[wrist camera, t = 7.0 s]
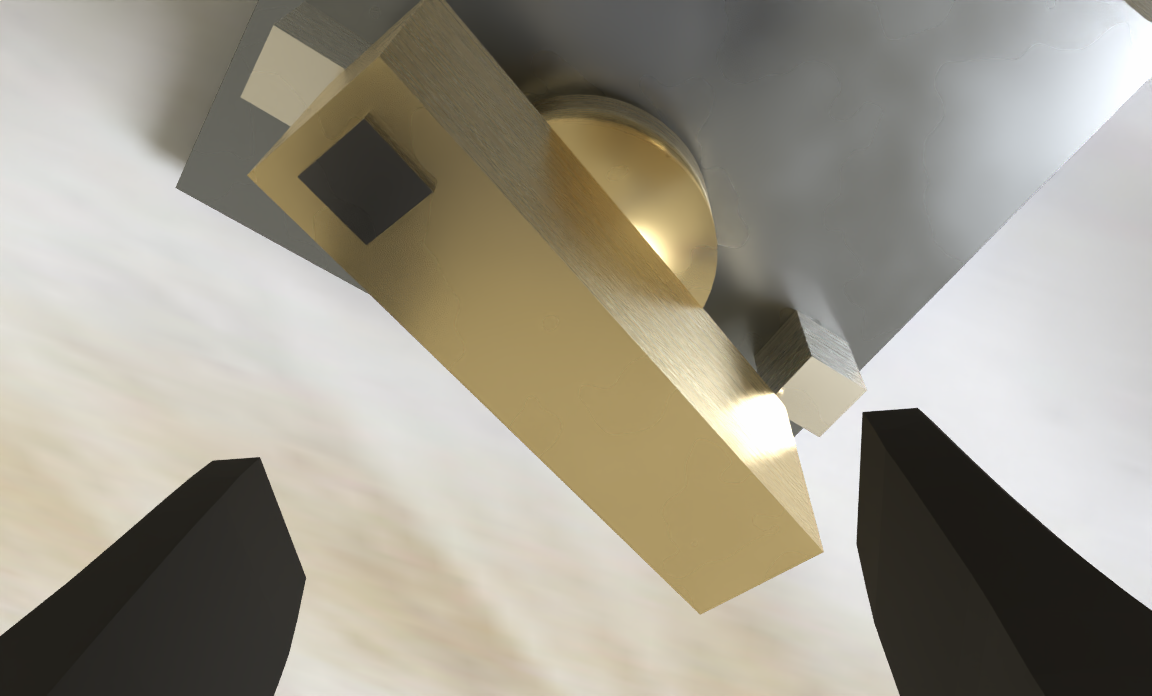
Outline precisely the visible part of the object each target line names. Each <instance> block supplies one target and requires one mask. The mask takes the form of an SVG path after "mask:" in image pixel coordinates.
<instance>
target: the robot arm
mask: <svg viewBox="0 0 1152 696" xmlns="http://www.w3.org/2000/svg"><path fill="white" fill-rule="evenodd" d="M857 548H858V553H859V558H860V562H861V567H862V571H863V576H864V580H865V585H866V589H867V594H868V598H869V602H870V606H871V611H872V615H873V619H874V623H875V626H876V629H877V632H878V635H879V638H880V641H881V643H882V646H883V649H884V652H885V655H886V658H887V660H888V663H889V666H890V669H891V672H892V674H893V677H894V680H895V683H896V686H897V689H898V691H899V694H900V696H1152V610H1150V609H1149V608H1148V607H1146V606H1145V605H1143V604H1142V603H1141V602H1139V601H1138V600H1137V599H1135V598H1134V597H1132V596H1131V595H1130V594H1128V593H1127V592H1126V591H1124V590H1123V589H1122V588H1120V587H1119V586H1118V585H1117V584H1115V583H1114V582H1113V581H1112V580H1110V579H1109V578H1108V577H1106V576H1105V575H1104V574H1103V573H1101V572H1100V571H1099V570H1097V569H1096V568H1095V567H1094V566H1092V565H1091V564H1090V563H1089V562H1087V561H1086V560H1085V559H1083V558H1082V557H1081V556H1080V555H1079V554H1077V553H1076V552H1075V551H1074V550H1073V549H1071V548H1070V547H1069V546H1068V545H1067V544H1065V543H1064V542H1063V541H1062V540H1061V539H1059V538H1058V537H1057V536H1056V535H1055V534H1054V533H1052V532H1051V531H1050V530H1049V529H1048V528H1047V527H1046V526H1044V525H1043V524H1042V523H1041V522H1040V521H1039V520H1038V519H1036V518H1035V517H1034V516H1033V515H1032V514H1031V513H1030V512H1028V511H1027V510H1026V509H1025V508H1024V507H1023V506H1022V505H1020V504H1019V503H1018V502H1017V501H1016V500H1015V499H1014V498H1012V497H1011V496H1010V495H1009V494H1008V493H1007V492H1006V491H1005V490H1004V489H1003V488H1002V487H1000V486H999V485H998V484H997V483H996V482H995V481H994V480H993V479H992V478H991V477H990V476H989V475H988V474H987V473H985V472H984V471H983V470H982V469H981V468H980V467H979V466H978V465H977V464H976V463H975V462H974V461H973V460H972V459H971V458H970V457H969V456H968V455H967V454H965V453H964V452H963V451H962V450H961V449H960V448H959V447H958V446H957V445H956V444H955V443H954V442H953V441H952V440H951V439H950V438H949V437H948V436H947V435H946V434H945V433H944V432H943V431H942V430H941V429H940V428H939V427H938V426H937V425H936V424H935V423H934V422H932V421H931V420H930V419H929V418H928V417H927V416H926V415H925V414H924V413H923V412H922V411H920V410H919V409H918V408H911V409H898V410H884V411H871V412H863V416H862V438H861V459H860V481H859V502H858V523H857ZM305 580H306V576H305V574H304V571H303V568H302V566H301V563H300V561H299V558H298V555H297V553H296V550H295V548H294V545H293V542H292V540H291V537H290V535H289V532H288V529H287V527H286V524H285V521H284V519H283V516H282V514H281V511H280V508H279V506H278V503H277V501H276V498H275V495H274V493H273V490H272V488H271V485H270V482H269V480H268V477H267V474H266V472H265V469H264V467H263V464H262V461H261V459H260V457H256V458H243V459H230V460H216V461H212V462H210V463H209V464H208V465H206V466H205V467H204V468H202V469H201V470H200V471H198V472H197V473H196V474H195V475H193V476H192V477H191V478H190V479H188V480H187V481H186V482H185V483H184V484H182V485H181V486H180V487H179V488H178V489H176V490H175V491H174V492H173V493H172V494H170V495H169V496H168V497H167V498H166V499H165V500H163V501H162V502H161V503H160V504H159V505H158V506H156V507H155V508H154V509H153V510H152V511H151V512H149V513H148V514H147V515H146V516H145V517H144V518H143V519H141V520H140V521H139V522H138V523H137V524H136V525H134V526H133V527H132V528H131V529H130V530H129V531H128V532H126V533H125V534H124V535H123V536H122V537H121V538H119V539H118V540H117V541H116V542H115V543H114V544H112V545H111V546H110V547H109V548H108V549H106V550H105V551H104V552H103V553H102V554H101V555H99V556H98V557H97V558H96V559H95V560H94V561H92V562H91V563H90V564H89V565H88V566H87V567H85V568H84V569H83V570H82V571H81V572H80V573H78V574H77V575H76V576H75V577H74V578H72V579H71V580H70V581H69V582H68V583H66V584H65V585H64V586H63V587H61V588H60V589H59V590H58V591H56V592H55V593H54V594H53V595H51V596H50V597H49V598H48V599H46V600H45V601H44V602H43V603H41V604H40V605H39V606H38V607H36V608H35V609H34V610H33V611H31V612H30V613H29V614H28V615H26V616H25V617H24V618H23V619H21V620H20V621H19V622H17V623H16V624H15V625H14V626H12V627H11V628H10V629H9V630H7V631H6V632H5V633H4V634H2V635H1V636H0V696H274V694H275V691H276V688H277V686H278V683H279V680H280V678H281V675H282V672H283V669H284V666H285V664H286V661H287V658H288V655H289V651H290V647H291V643H292V639H293V635H294V631H295V627H296V623H297V619H298V614H299V609H300V604H301V600H302V595H303V590H304V585H305Z"/></svg>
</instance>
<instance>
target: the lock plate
mask: <svg viewBox="0 0 1152 696" xmlns="http://www.w3.org/2000/svg"><path fill="white" fill-rule="evenodd" d="M420 1H421V0H259V1H258V3H257V5H256V7H255V10H254V12H253V14H252V16H251V19H250V21H249V23H248V25H247V28H246V30H245V32H244V34H243V37H242V39H241V41H240V43H239V46H238V48H237V50H236V52H235V55H234V57H233V59H232V61H231V64H230V66H229V68H228V70H227V73H226V75H225V77H224V79H223V82H222V84H221V86H220V89H219V91H218V93H217V95H216V98H215V100H214V102H213V104H212V107H211V109H210V111H209V113H208V116H207V118H206V120H205V122H204V125H203V127H202V129H201V131H200V134H199V136H198V138H197V140H196V143H195V145H194V147H193V149H192V152H191V154H190V156H189V158H188V161H187V163H186V165H185V167H184V170H183V172H182V174H181V177H180V179H179V181H178V183H177V186H176V188H177V189H179V190H180V191H182V192H184V193H186V194H188V195H190V196H191V197H193V198H195V199H197V200H199V201H201V202H202V203H204V204H206V205H208V206H210V207H211V208H213V209H215V210H217V211H219V212H221V213H222V214H224V215H226V216H228V217H230V218H231V219H233V220H235V221H237V222H239V223H241V224H242V225H244V226H246V227H248V228H250V229H251V230H253V231H255V232H257V233H259V234H261V235H262V236H264V237H266V238H268V239H270V240H271V241H273V242H275V243H277V244H279V245H281V246H282V247H284V248H286V249H288V250H290V251H292V252H293V253H295V254H297V255H299V256H301V257H302V258H304V259H306V260H308V261H310V262H312V263H313V264H315V265H317V266H319V267H321V268H322V269H324V270H326V271H328V272H330V273H332V274H333V275H335V276H337V277H339V278H341V279H342V280H344V281H346V282H348V283H350V284H352V285H353V286H355V287H357V288H359V289H361V290H363V291H364V292H366V293H368V292H367V291H366V290H365V289H364V288H363V287H362V286H361V285H360V284H359V283H358V282H357V281H356V280H354V279H353V278H352V277H351V276H350V275H349V274H348V273H347V272H346V271H345V270H344V269H343V268H342V267H341V266H340V265H339V264H338V263H337V262H336V261H335V260H334V259H333V258H332V257H331V256H330V255H329V254H328V253H327V252H326V251H325V250H324V249H323V248H321V247H320V246H319V245H318V244H317V243H316V242H315V241H314V240H313V239H312V238H311V237H310V236H309V235H308V234H307V233H306V232H305V231H304V230H303V229H302V228H301V227H300V226H299V225H298V224H297V223H296V222H295V221H294V220H293V219H292V218H291V217H289V216H288V215H287V214H286V213H285V212H284V211H283V210H282V209H281V208H280V207H279V206H278V205H277V204H276V203H275V202H274V201H273V200H272V199H271V198H270V197H269V196H268V195H267V194H266V193H265V192H264V191H263V190H262V189H261V188H260V187H259V186H258V185H256V184H255V183H254V182H253V181H252V180H251V179H250V178H249V177H248V176H247V175H248V173H249V172H250V171H251V170H252V169H253V168H254V167H255V166H256V165H257V163H258V162H259V161H260V160H261V159H262V158H263V157H264V156H265V155H266V153H267V152H268V151H269V150H270V149H271V148H272V147H273V146H274V145H275V143H276V142H277V141H278V140H279V139H280V138H281V137H282V136H283V135H284V133H285V132H286V131H287V130H288V129H289V128H290V127H291V126H292V125H293V123H294V122H295V121H296V120H297V119H298V118H299V117H300V116H301V115H302V113H303V112H304V111H305V110H306V109H307V108H308V107H309V106H310V105H311V103H312V102H313V101H314V100H315V99H316V98H317V97H318V96H319V95H320V93H321V92H322V91H323V90H324V89H325V88H326V87H327V86H328V85H329V84H330V83H331V82H332V81H333V80H334V79H335V78H336V77H337V76H338V75H340V74H341V73H342V72H343V71H344V70H345V69H346V68H347V67H348V66H349V65H350V64H352V63H353V62H354V61H355V60H356V59H357V58H358V57H359V56H360V55H361V54H363V53H364V52H365V51H366V50H367V49H368V48H369V47H370V46H371V45H372V44H374V43H375V42H376V41H377V40H378V39H379V38H380V37H381V36H382V35H383V34H385V33H386V32H387V31H388V30H389V29H390V28H391V27H392V26H393V25H394V24H396V23H397V22H398V21H399V20H400V19H401V18H402V17H403V16H404V15H405V14H407V13H408V12H409V11H410V10H411V9H412V8H413V7H414V6H415V5H416V4H418V3H419V2H420ZM445 1H446V2H447V3H448V4H449V6H450V7H451V8H452V9H453V10H454V12H455V13H456V14H457V15H458V16H459V18H460V19H461V20H462V21H463V22H464V23H465V25H466V26H467V27H468V28H469V29H470V31H471V32H472V33H473V34H474V35H475V37H476V38H477V39H478V40H479V41H480V43H481V44H482V45H483V46H484V47H485V49H486V50H487V51H488V52H489V53H490V55H491V56H492V57H493V58H494V59H495V60H496V62H497V63H498V64H499V65H500V66H501V68H502V69H503V70H504V71H505V72H506V74H507V75H508V76H509V77H510V78H511V80H512V81H513V82H514V83H515V84H516V86H517V87H518V88H519V89H520V90H521V92H522V93H523V94H524V95H525V96H526V98H527V99H528V100H529V101H530V102H531V103H533V102H536V101H539V100H542V99H546V98H550V97H555V96H560V95H572V94H586V95H598V96H604V97H609V98H614V99H617V100H620V101H624V102H627V103H630V104H632V105H634V106H636V107H638V108H641V109H643V110H645V111H647V112H648V113H650V114H651V115H653V116H655V117H656V118H658V119H659V120H661V121H662V122H663V123H664V124H665V125H667V126H668V127H669V128H670V129H671V130H673V131H674V132H675V133H676V135H677V136H678V137H679V138H680V139H681V140H682V141H683V142H684V144H685V145H686V146H687V148H688V149H689V151H690V152H691V154H692V155H693V157H694V158H695V160H696V162H697V164H698V166H699V169H700V171H701V173H702V176H703V179H704V182H705V185H706V188H707V193H708V198H709V202H710V207H711V212H712V216H713V221H714V226H715V232H716V238H717V266H716V274H715V278H714V282H713V285H712V289H711V292H710V294H709V296H708V299H707V301H706V303H705V305H704V307H703V309H704V310H705V311H706V312H707V314H708V315H709V316H710V317H711V318H712V320H713V321H714V322H715V323H716V324H717V326H718V327H719V328H720V329H721V330H722V332H723V333H724V334H725V335H726V336H727V338H728V339H729V340H730V341H731V342H732V344H733V345H734V346H735V347H736V348H737V349H738V351H739V352H740V353H741V354H742V355H743V357H744V358H745V359H746V360H747V361H748V363H749V364H750V365H751V366H752V367H753V369H754V370H755V371H756V372H757V373H758V375H759V376H760V377H761V378H762V379H763V381H764V382H765V383H766V384H767V385H768V387H769V388H770V389H771V390H772V391H773V392H774V394H775V395H776V396H777V397H778V398H779V400H780V401H781V402H782V403H783V404H784V406H785V407H786V411H787V415H788V419H789V423H790V426H791V430H792V434H793V438H794V437H795V436H796V435H797V434H798V433H799V432H800V431H801V430H802V429H803V428H805V429H806V430H808V431H810V432H811V433H813V434H815V435H817V436H818V437H820V436H821V435H822V434H823V433H824V432H825V431H826V430H827V429H828V428H829V427H830V426H831V425H832V424H833V423H834V422H835V421H836V420H837V419H838V418H839V417H840V416H841V415H842V414H843V413H844V412H845V411H846V410H847V409H849V408H850V407H851V406H852V405H853V404H854V403H855V402H856V401H857V400H858V399H859V398H860V397H861V396H862V395H863V394H864V393H865V392H866V391H867V389H866V387H865V384H864V382H863V379H862V377H861V374H860V372H859V371H860V370H861V369H862V368H863V367H864V366H865V365H866V364H867V363H868V362H869V361H870V360H871V359H872V358H873V357H874V356H875V355H876V354H877V353H878V352H879V351H880V350H881V349H882V348H883V347H884V346H885V345H886V344H887V343H888V342H889V341H890V340H891V339H892V338H893V337H894V336H895V335H896V334H897V333H898V332H899V331H900V330H901V329H902V328H903V327H904V326H905V324H906V323H907V322H908V321H909V320H910V319H911V318H912V317H913V316H914V315H915V314H916V313H917V312H918V311H919V310H920V309H921V308H922V307H923V306H924V305H925V304H926V303H927V302H928V301H929V300H930V299H931V298H932V297H933V296H934V295H935V294H936V293H937V292H938V291H939V290H940V289H941V288H942V287H943V286H944V285H945V284H946V283H947V282H948V281H949V280H950V279H951V278H952V277H953V276H954V275H955V274H956V273H957V272H958V271H959V270H960V269H961V268H962V267H963V266H964V265H965V264H966V263H967V262H968V261H969V260H970V259H971V258H972V257H973V256H974V255H975V254H976V253H977V252H978V251H979V250H980V249H981V248H982V247H983V246H984V245H985V244H986V243H987V242H988V241H989V240H990V239H991V238H992V237H993V236H994V235H995V234H996V233H997V232H998V231H999V230H1000V229H1001V228H1002V227H1003V226H1004V224H1005V223H1006V222H1007V221H1008V220H1009V219H1010V218H1011V217H1012V216H1013V215H1014V214H1015V213H1016V212H1017V211H1018V210H1019V209H1020V208H1021V207H1022V206H1023V205H1024V204H1025V203H1026V202H1027V201H1028V200H1029V199H1030V198H1031V197H1032V196H1033V195H1034V194H1035V193H1036V192H1037V191H1038V190H1039V189H1040V188H1041V187H1042V186H1043V185H1044V184H1045V183H1046V182H1047V181H1048V180H1049V179H1050V178H1051V177H1052V176H1053V175H1054V174H1055V173H1056V172H1057V171H1058V170H1059V169H1060V168H1061V167H1062V166H1063V165H1064V164H1065V163H1066V162H1067V161H1068V160H1069V159H1070V158H1071V157H1072V156H1073V155H1074V154H1075V153H1076V152H1077V151H1078V150H1079V149H1080V148H1081V147H1082V146H1083V145H1084V144H1085V143H1086V142H1087V141H1088V140H1089V139H1090V138H1091V137H1092V136H1093V135H1094V134H1095V133H1096V132H1097V131H1098V130H1099V129H1100V128H1101V127H1102V126H1103V124H1104V123H1105V122H1106V121H1107V120H1108V119H1109V118H1110V117H1111V116H1112V115H1113V114H1114V113H1115V112H1116V111H1117V110H1118V109H1119V108H1120V107H1121V106H1122V105H1123V104H1124V103H1125V102H1126V101H1127V100H1128V99H1129V98H1130V97H1131V96H1132V95H1133V94H1134V93H1135V92H1136V91H1137V90H1138V89H1139V88H1140V87H1141V86H1142V85H1143V84H1144V83H1145V82H1146V81H1147V80H1148V79H1149V78H1150V77H1151V76H1152V0H445ZM368 294H369V293H368Z"/></svg>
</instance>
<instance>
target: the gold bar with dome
mask: <svg viewBox="0 0 1152 696" xmlns="http://www.w3.org/2000/svg"><path fill="white" fill-rule="evenodd" d="M247 176H248V177H249V178H250V179H251V180H252V181H253V182H254V183H255V184H256V185H258V186H259V187H260V188H261V189H262V190H263V191H264V192H265V193H266V194H267V195H268V196H269V197H270V198H271V199H272V200H273V201H274V202H275V203H276V204H277V205H278V206H279V207H280V208H281V209H282V210H283V211H284V212H285V213H286V214H287V215H288V216H289V217H291V218H292V219H293V220H294V221H295V222H296V223H297V224H298V225H299V226H300V227H301V228H302V229H303V230H304V231H305V232H306V233H307V234H308V235H309V236H310V237H311V238H312V239H313V240H314V241H315V242H316V243H317V244H318V245H319V246H320V247H321V248H323V249H324V250H325V251H326V252H327V253H328V254H329V255H330V256H331V257H332V258H333V259H334V260H335V261H336V262H337V263H338V264H339V265H340V266H341V267H342V268H343V269H344V270H345V271H346V272H347V273H348V274H349V275H350V276H351V277H352V278H353V279H354V280H356V281H357V282H358V283H359V284H360V285H361V286H362V287H363V288H364V289H365V290H366V291H367V292H368V293H369V294H370V295H371V296H372V297H373V298H374V299H375V300H376V301H377V302H378V303H379V304H380V305H381V306H382V307H383V308H384V309H385V310H386V311H388V312H389V313H390V314H391V315H392V316H393V317H394V318H395V319H396V320H397V321H398V322H399V323H400V324H401V325H402V326H403V327H404V328H405V329H406V330H407V331H408V332H409V333H410V334H411V335H412V336H413V337H414V338H415V339H416V340H417V341H418V342H419V343H421V344H422V345H423V346H424V347H425V348H426V349H427V350H428V351H429V352H430V353H431V354H432V355H433V356H434V357H435V358H436V359H437V360H438V361H439V362H440V363H441V364H442V365H443V366H444V367H445V368H446V369H447V370H448V371H449V372H450V373H451V374H453V375H454V376H455V377H456V378H457V379H458V380H459V381H460V382H461V383H462V384H463V385H464V386H465V387H466V388H467V389H468V390H469V391H470V392H471V393H472V394H473V395H474V396H475V397H476V398H477V399H478V400H479V401H480V402H481V403H482V404H483V405H485V406H486V407H487V408H488V409H489V410H490V411H491V412H492V413H493V414H494V415H495V416H496V417H497V418H498V419H499V420H500V421H501V422H502V423H503V424H504V425H505V426H506V427H507V428H508V429H509V430H510V431H511V432H512V433H513V434H514V435H515V436H516V437H518V438H519V439H520V440H521V441H522V442H523V443H524V444H525V445H526V446H527V447H528V448H529V449H530V450H531V451H532V452H533V453H534V454H535V455H536V456H537V457H538V458H539V459H540V460H541V461H542V462H543V463H544V464H545V465H546V466H547V467H548V468H550V469H551V470H552V471H553V472H554V473H555V474H556V475H557V476H558V477H559V478H560V479H561V480H562V481H563V482H564V483H565V484H566V485H567V486H568V487H569V488H570V489H571V490H572V491H573V492H574V493H575V494H576V495H577V496H578V497H579V498H580V499H581V500H583V501H584V502H585V503H586V504H587V505H588V506H589V507H590V508H591V509H592V510H593V511H594V512H595V513H596V514H597V515H598V516H599V517H600V518H601V519H602V520H603V521H604V522H605V523H606V524H607V525H608V526H609V527H610V528H611V529H612V530H613V531H615V532H616V533H617V534H618V535H619V536H620V537H621V538H622V539H623V540H624V541H625V542H626V543H627V544H628V545H629V546H630V547H631V548H632V549H633V550H634V551H635V552H636V553H637V554H638V555H639V556H640V557H641V558H642V559H643V560H644V561H645V562H646V563H648V564H649V565H650V566H651V567H652V568H653V569H654V570H655V571H656V572H657V573H658V574H659V575H660V576H661V577H662V578H663V579H664V580H665V581H666V582H667V583H668V584H669V585H670V586H671V587H672V588H673V589H674V590H675V591H676V592H677V593H678V594H680V595H681V596H682V597H683V598H684V599H685V600H686V601H687V602H688V603H689V604H690V605H691V606H692V607H693V608H694V609H695V610H696V611H697V612H698V613H699V614H702V613H704V612H706V611H708V610H710V609H712V608H714V607H716V606H718V605H720V604H722V603H724V602H726V601H728V600H730V599H732V598H734V597H736V596H738V595H740V594H742V593H744V592H746V591H748V590H750V589H752V588H754V587H756V586H758V585H760V584H762V583H763V582H765V581H767V580H769V579H771V578H773V577H775V576H777V575H779V574H781V573H783V572H785V571H787V570H789V569H791V568H793V567H795V566H797V565H799V564H801V563H803V562H805V561H807V560H809V559H811V558H813V557H815V556H817V555H819V554H821V553H823V552H824V551H823V547H822V544H821V540H820V536H819V532H818V528H817V525H816V521H815V517H814V513H813V510H812V506H811V502H810V498H809V494H808V491H807V487H806V483H805V479H804V475H803V472H802V468H801V464H800V460H799V457H798V453H797V449H796V445H795V441H794V438H793V434H792V430H791V426H790V423H789V419H788V415H787V411H786V407H785V406H784V404H783V403H782V402H781V401H780V400H779V398H778V397H777V396H776V395H775V394H774V392H773V391H772V390H771V389H770V388H769V387H768V385H767V384H766V383H765V382H764V381H763V379H762V378H761V377H760V376H759V375H758V373H757V372H756V371H755V370H754V369H753V367H752V366H751V365H750V364H749V363H748V361H747V360H746V359H745V358H744V357H743V355H742V354H741V353H740V352H739V351H738V349H737V348H736V347H735V346H734V345H733V344H732V342H731V341H730V340H729V339H728V338H727V336H726V335H725V334H724V333H723V332H722V330H721V329H720V328H719V327H718V326H717V324H716V323H715V322H714V321H713V320H712V318H711V317H710V316H709V315H708V314H707V312H706V311H705V310H704V309H703V307H704V305H705V303H706V301H707V299H708V296H709V294H710V292H711V289H712V285H713V282H714V278H715V274H716V266H717V238H716V232H715V226H714V221H713V216H712V212H711V207H710V202H709V198H708V193H707V188H706V185H705V182H704V179H703V176H702V173H701V171H700V169H699V166H698V164H697V162H696V160H695V158H694V157H693V155H692V154H691V152H690V151H689V149H688V148H687V146H686V145H685V144H684V142H683V141H682V140H681V139H680V138H679V137H678V136H677V135H676V133H675V132H674V131H673V130H671V129H670V128H669V127H668V126H667V125H665V124H664V123H663V122H662V121H661V120H659V119H658V118H656V117H655V116H653V115H651V114H650V113H648V112H647V111H645V110H643V109H641V108H638V107H636V106H634V105H632V104H630V103H627V102H624V101H620V100H617V99H614V98H609V97H604V96H598V95H586V94H572V95H560V96H555V97H550V98H546V99H542V100H539V101H536V102H533V103H531V102H530V101H529V100H528V99H527V98H526V96H525V95H524V94H523V93H522V92H521V90H520V89H519V88H518V87H517V86H516V84H515V83H514V82H513V81H512V80H511V78H510V77H509V76H508V75H507V74H506V72H505V71H504V70H503V69H502V68H501V66H500V65H499V64H498V63H497V62H496V60H495V59H494V58H493V57H492V56H491V55H490V53H489V52H488V51H487V50H486V49H485V47H484V46H483V45H482V44H481V43H480V41H479V40H478V39H477V38H476V37H475V35H474V34H473V33H472V32H471V31H470V29H469V28H468V27H467V26H466V25H465V23H464V22H463V21H462V20H461V19H460V18H459V16H458V15H457V14H456V13H455V12H454V10H453V9H452V8H451V7H450V6H449V4H448V3H447V2H446V1H445V0H421V1H420V2H419V3H418V4H416V5H415V6H414V7H413V8H412V9H411V10H410V11H409V12H408V13H407V14H405V15H404V16H403V17H402V18H401V19H400V20H399V21H398V22H397V23H396V24H394V25H393V26H392V27H391V28H390V29H389V30H388V31H387V32H386V33H385V34H383V35H382V36H381V37H380V38H379V39H378V40H377V41H376V42H375V43H374V44H372V45H371V46H370V47H369V48H368V49H367V50H366V51H365V52H364V53H363V54H361V55H360V56H359V57H358V58H357V59H356V60H355V61H354V62H353V63H352V64H350V65H349V66H348V67H347V68H346V69H345V70H344V71H343V72H342V73H341V74H340V75H338V76H337V77H336V78H335V79H334V80H333V81H332V82H331V83H330V84H329V85H328V86H327V87H326V88H325V89H324V90H323V91H322V92H321V93H320V95H319V96H318V97H317V98H316V99H315V100H314V101H313V102H312V103H311V105H310V106H309V107H308V108H307V109H306V110H305V111H304V112H303V113H302V115H301V116H300V117H299V118H298V119H297V120H296V121H295V122H294V123H293V125H292V126H291V127H290V128H289V129H288V130H287V131H286V132H285V133H284V135H283V136H282V137H281V138H280V139H279V140H278V141H277V142H276V143H275V145H274V146H273V147H272V148H271V149H270V150H269V151H268V152H267V153H266V155H265V156H264V157H263V158H262V159H261V160H260V161H259V162H258V163H257V165H256V166H255V167H254V168H253V169H252V170H251V171H250V172H249V173H248V175H247Z"/></svg>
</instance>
